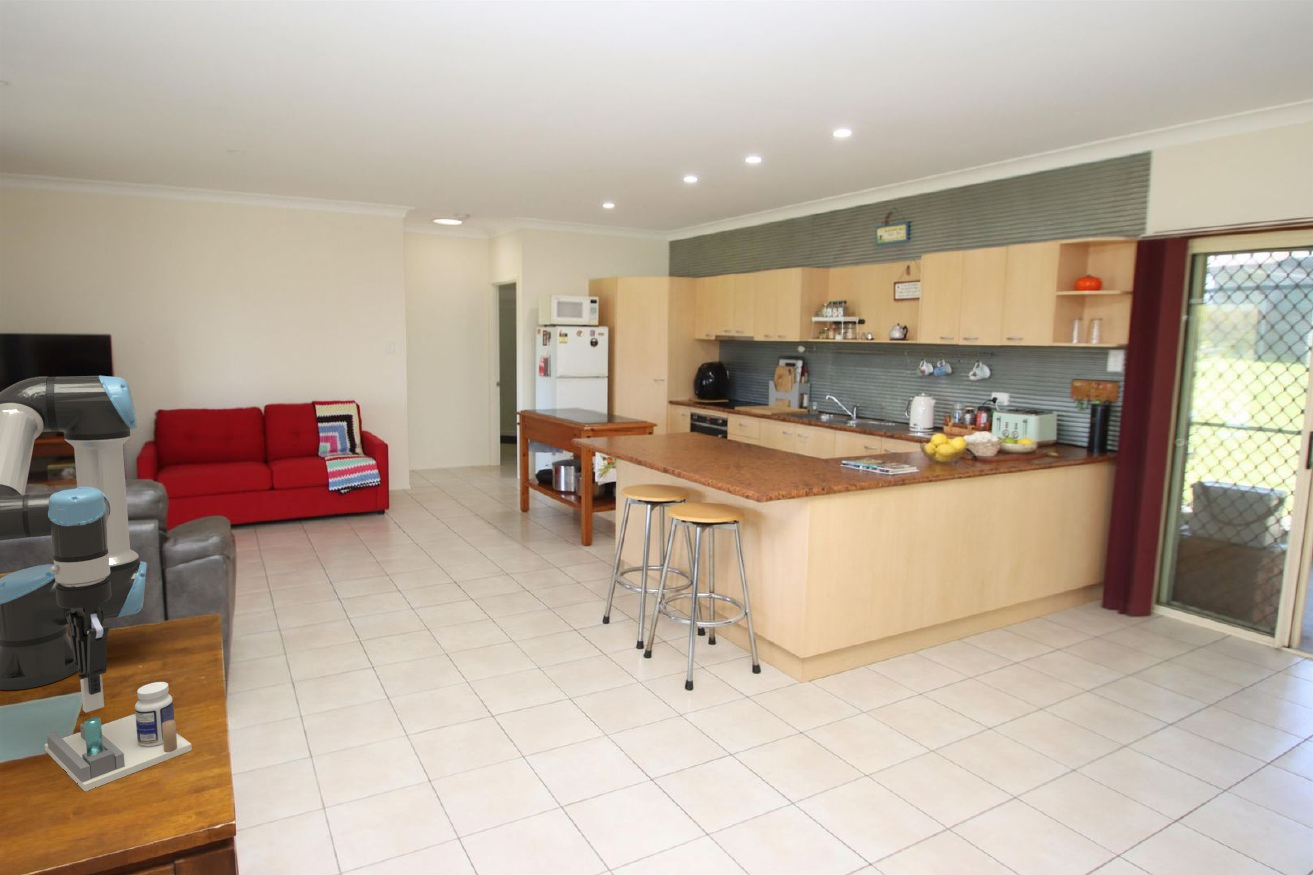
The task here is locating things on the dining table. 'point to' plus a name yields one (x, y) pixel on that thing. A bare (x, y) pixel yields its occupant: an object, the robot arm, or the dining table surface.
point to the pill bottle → (152, 712)
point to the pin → (93, 737)
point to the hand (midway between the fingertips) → (93, 708)
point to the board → (126, 746)
